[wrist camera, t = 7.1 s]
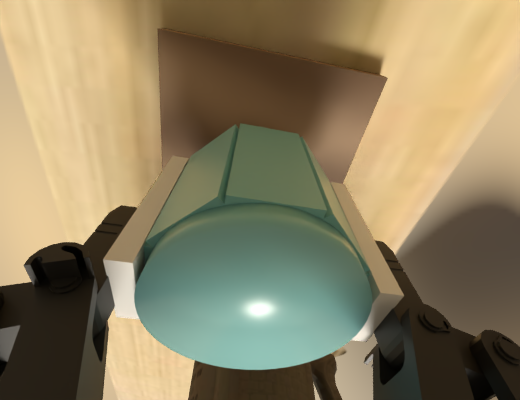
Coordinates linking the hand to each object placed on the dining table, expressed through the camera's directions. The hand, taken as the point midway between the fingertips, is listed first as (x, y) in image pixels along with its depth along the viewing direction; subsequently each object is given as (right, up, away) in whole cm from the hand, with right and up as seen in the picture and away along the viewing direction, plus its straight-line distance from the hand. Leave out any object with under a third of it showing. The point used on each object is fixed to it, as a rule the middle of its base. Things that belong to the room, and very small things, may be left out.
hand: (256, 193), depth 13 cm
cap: (0, 0, 0) cm, 0 cm away
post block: (0, +3, +4) cm, 5 cm away
